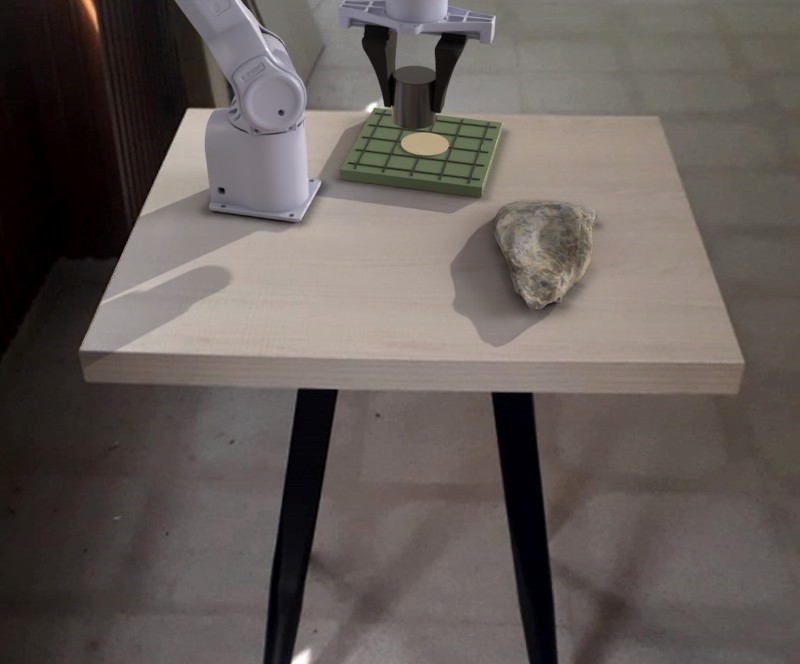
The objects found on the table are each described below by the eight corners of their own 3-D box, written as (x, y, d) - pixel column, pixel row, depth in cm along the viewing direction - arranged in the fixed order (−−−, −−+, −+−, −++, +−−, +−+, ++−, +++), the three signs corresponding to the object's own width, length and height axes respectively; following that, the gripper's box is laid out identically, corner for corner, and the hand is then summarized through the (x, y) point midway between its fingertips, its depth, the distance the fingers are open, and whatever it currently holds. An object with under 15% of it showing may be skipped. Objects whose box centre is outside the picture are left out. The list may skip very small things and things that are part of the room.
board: (340, 179, 100) (339, 167, 99) (373, 117, 111) (373, 106, 110) (481, 197, 98) (482, 186, 97) (502, 132, 109) (503, 121, 108)
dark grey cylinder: (387, 126, 94) (387, 81, 91) (397, 107, 97) (398, 63, 94) (430, 131, 93) (432, 86, 90) (439, 112, 96) (441, 68, 93)
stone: (490, 336, 84) (605, 337, 84) (491, 305, 82) (610, 306, 81) (493, 204, 98) (592, 205, 97) (493, 174, 95) (595, 174, 94)
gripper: (326, -32, 83) (331, 114, 93) (491, -16, 81) (479, 132, 90) (348, -57, 88) (351, 84, 98) (503, -43, 86) (491, 101, 95)
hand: (413, 105), depth 94 cm, fingers closed on dark grey cylinder, 4 cm apart
